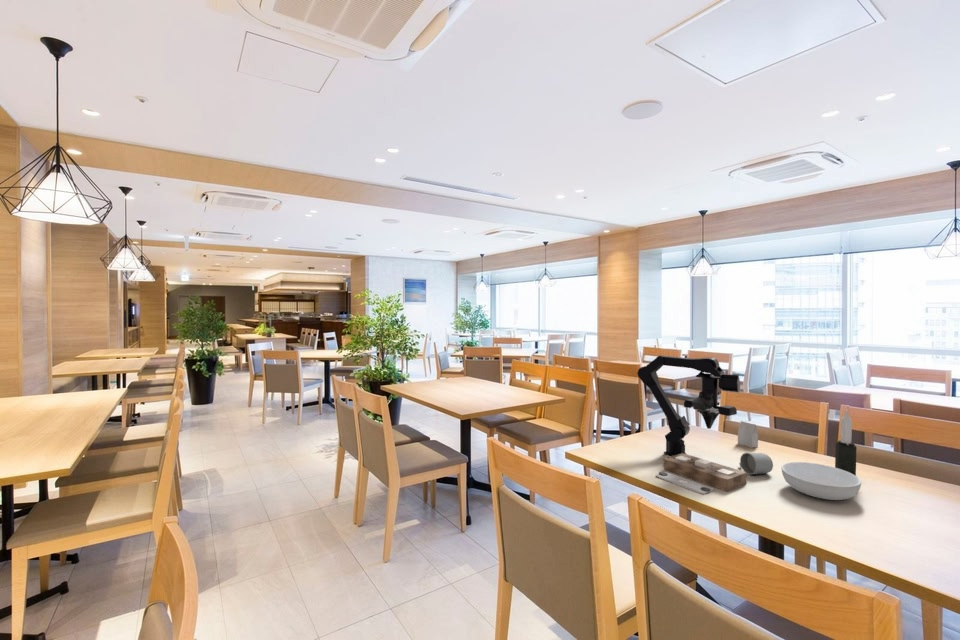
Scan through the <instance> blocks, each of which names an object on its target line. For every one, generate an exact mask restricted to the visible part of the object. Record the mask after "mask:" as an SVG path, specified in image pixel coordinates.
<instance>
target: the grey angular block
mask: <svg viewBox="0 0 960 640" xmlns="http://www.w3.org/2000/svg"><path fill="white" fill-rule="evenodd" d="M737 444H738V445H740V446H744V445H745V446H744V447H747V446H749V447H748V448H750V447H751V449H754V448H753V447H755V448H758V447H759V432H758V428H757V425H756V423H751V422H747V421H743V420H741V421H740V423H739V426H738V430H737Z"/></svg>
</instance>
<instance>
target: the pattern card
mask: <svg viewBox="0 0 960 640" xmlns="http://www.w3.org/2000/svg"><path fill="white" fill-rule="evenodd" d="M655 476H657V477H659V478H658V479H660V478H662V479H661V480H663V479H664V480H663V481H665V480H667V481H666V482H668V481H669V482H668V483H671V482H672V483H671V484H674V485H676V484H677V486H679V487H682V488H685V489H687V490H690V491H693V492H696V493H698V494H700V493H701V495H706V494H708V493H711V492H713V490H714V488H713V487H711V486H708V485H706V484H703V483H700V482H699V483H698V482H696V481H694V480H693V481H692V480H690V479H689V478H686V477H685V478H684V477H683V476H680V475H677V474H674V473H672V472H669V471H664V472H661V471H660V472H658V474H655ZM657 477H656V478H657ZM705 493H706V494H705Z"/></svg>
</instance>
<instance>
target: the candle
mask: <svg viewBox="0 0 960 640" xmlns="http://www.w3.org/2000/svg"><path fill="white" fill-rule="evenodd" d="M840 420H841V421H840V440H837V441H836V442H835V453H834V454H835V459H834V461H835V462H834V467H835V468H838V469H841V470H844V471H847V472H849V473H852V474H854V475H855V476H857V446H856V445H855V443H854V442H852V439H853V438H852V437H853V436H852V435H853V434H852V432H853V420H852V418H851V417H850V414H849V410H848V409H845V412H844V415H843V416H842V417H841V419H840Z"/></svg>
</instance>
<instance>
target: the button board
mask: <svg viewBox="0 0 960 640" xmlns="http://www.w3.org/2000/svg"><path fill="white" fill-rule="evenodd" d="M678 456H684V457H687V458H691V460H690V461H687V462H683V461H680V460H677V459H675V457H678ZM698 459H702V458H700V457H697V456H694V455H690V454H687V453H686V454H684V453H681V454H678V455H675V456H671V455H670V456H668V457H665V458H663V470H664V469H665V470H664V471H667V470H668V471H667V472H670V471H671V472H670V473H672V474H675V475H678V476H681V475H682V476H681V477H683V478H684V477H685V478H686V479H689V480H690V479H691V480H693V481H695V482H696V481H697V482H699V483H700V484H703V485H706V486H709V487H712V488H713V487H714V488H715V489H719V490H722V491H725V492H730V491H732V490H735V489H738V488H740V487H742V486H745V485H746V484H747V472H744V470H739V469H737V468H734V467H730V466H727V465H723V464H720V463H717V462H714V461H711V462H712V467H710V468H707V469H705V468H702V467H699V466H696V465H695V460H698ZM720 469H726V470H730V471H733V472H735V473H734V474H733V475H730V476H727V475H724V474H721V473H718V472H717V470H720Z"/></svg>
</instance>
